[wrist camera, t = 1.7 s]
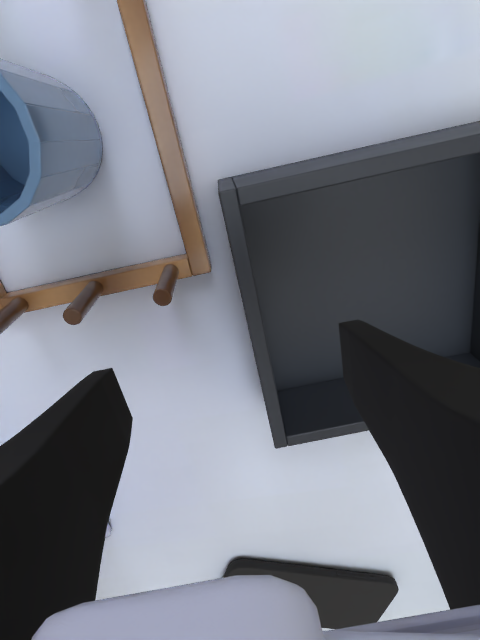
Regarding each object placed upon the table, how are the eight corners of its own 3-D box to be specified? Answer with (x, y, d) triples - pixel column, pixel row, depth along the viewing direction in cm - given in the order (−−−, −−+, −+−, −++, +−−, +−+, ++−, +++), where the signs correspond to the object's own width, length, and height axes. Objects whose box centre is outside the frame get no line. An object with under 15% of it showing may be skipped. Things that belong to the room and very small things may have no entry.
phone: (231, 564, 30) (403, 584, 32) (231, 554, 31) (399, 574, 33) (211, 617, 33) (369, 632, 35) (211, 607, 34) (366, 622, 36)
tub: (265, 397, 24) (275, 449, 20) (217, 179, 19) (217, 191, 15) (475, 354, 24) (528, 399, 20) (493, 117, 18) (573, 112, 14)
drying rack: (-2, 312, 21) (-55, 355, 17) (-191, -39, 14) (-349, -107, 10) (211, 266, 21) (210, 298, 16) (115, -118, 14) (75, -222, 10)
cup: (17, 208, 19) (-84, 245, 12) (-37, 89, 17) (-193, 60, 10) (118, 185, 19) (68, 210, 12) (77, 61, 16) (-10, 15, 10)
